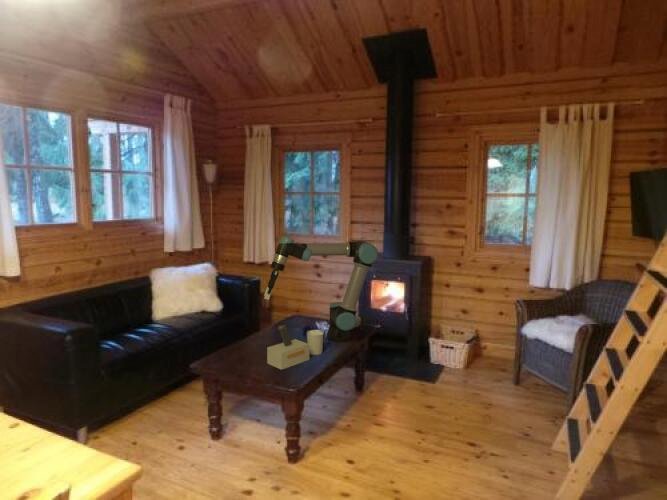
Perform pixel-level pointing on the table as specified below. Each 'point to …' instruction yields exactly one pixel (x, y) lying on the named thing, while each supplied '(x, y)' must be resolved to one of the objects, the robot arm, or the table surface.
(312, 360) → the table surface
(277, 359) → the beige rectangular box
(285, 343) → the lever
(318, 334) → the candle holder
